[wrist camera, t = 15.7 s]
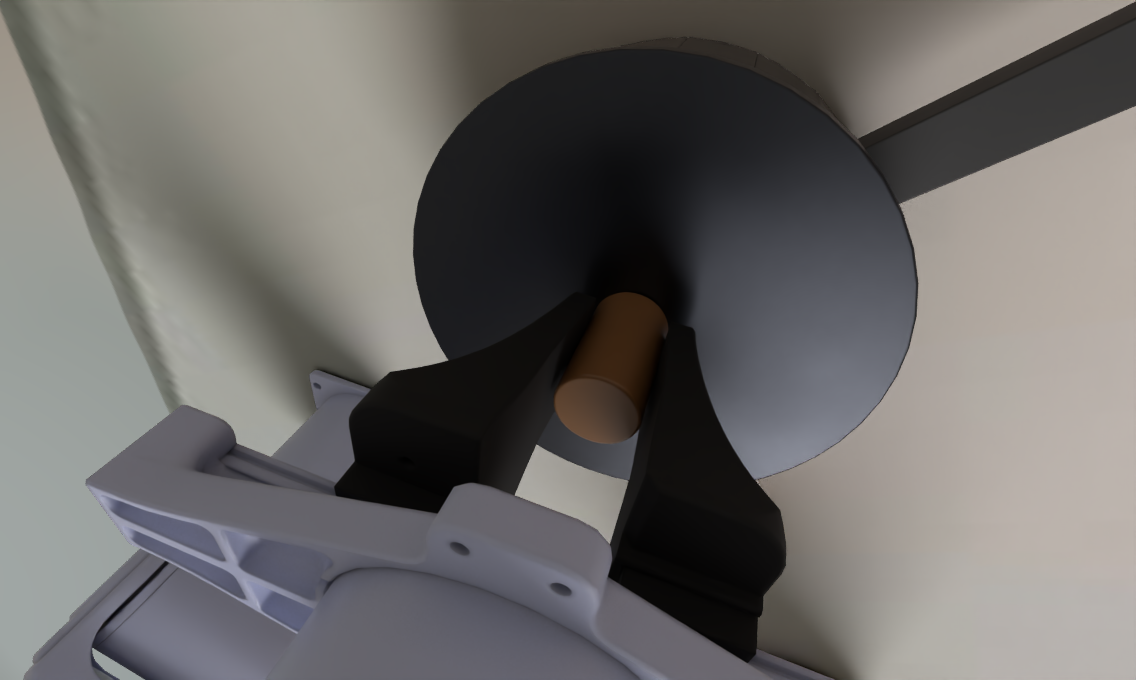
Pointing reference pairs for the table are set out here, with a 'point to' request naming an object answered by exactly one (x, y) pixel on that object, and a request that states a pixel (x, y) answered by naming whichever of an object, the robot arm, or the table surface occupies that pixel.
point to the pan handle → (1012, 108)
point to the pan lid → (673, 248)
